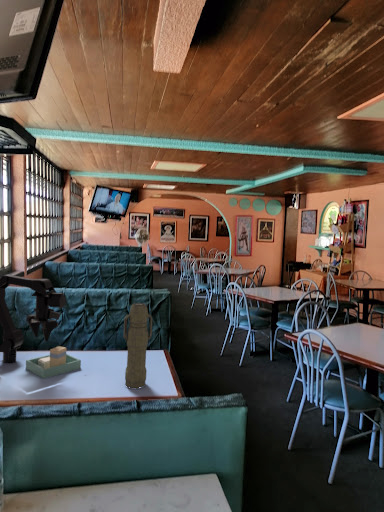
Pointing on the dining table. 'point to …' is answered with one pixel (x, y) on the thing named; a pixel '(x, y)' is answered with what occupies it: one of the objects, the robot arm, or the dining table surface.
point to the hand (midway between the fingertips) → (41, 339)
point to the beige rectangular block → (44, 362)
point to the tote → (70, 365)
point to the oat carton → (57, 356)
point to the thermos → (137, 344)
